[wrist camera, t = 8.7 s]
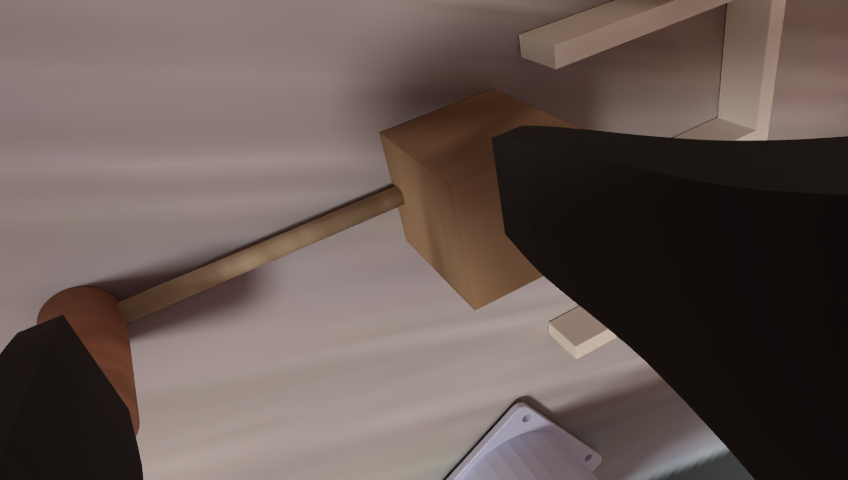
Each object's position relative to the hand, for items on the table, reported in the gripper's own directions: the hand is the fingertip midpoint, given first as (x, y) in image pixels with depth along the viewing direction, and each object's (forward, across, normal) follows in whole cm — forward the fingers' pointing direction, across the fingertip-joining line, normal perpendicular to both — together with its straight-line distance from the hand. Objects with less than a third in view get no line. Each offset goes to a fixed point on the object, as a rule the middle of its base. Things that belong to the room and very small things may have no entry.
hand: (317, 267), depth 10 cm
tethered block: (+10, -1, +5) cm, 11 cm away
